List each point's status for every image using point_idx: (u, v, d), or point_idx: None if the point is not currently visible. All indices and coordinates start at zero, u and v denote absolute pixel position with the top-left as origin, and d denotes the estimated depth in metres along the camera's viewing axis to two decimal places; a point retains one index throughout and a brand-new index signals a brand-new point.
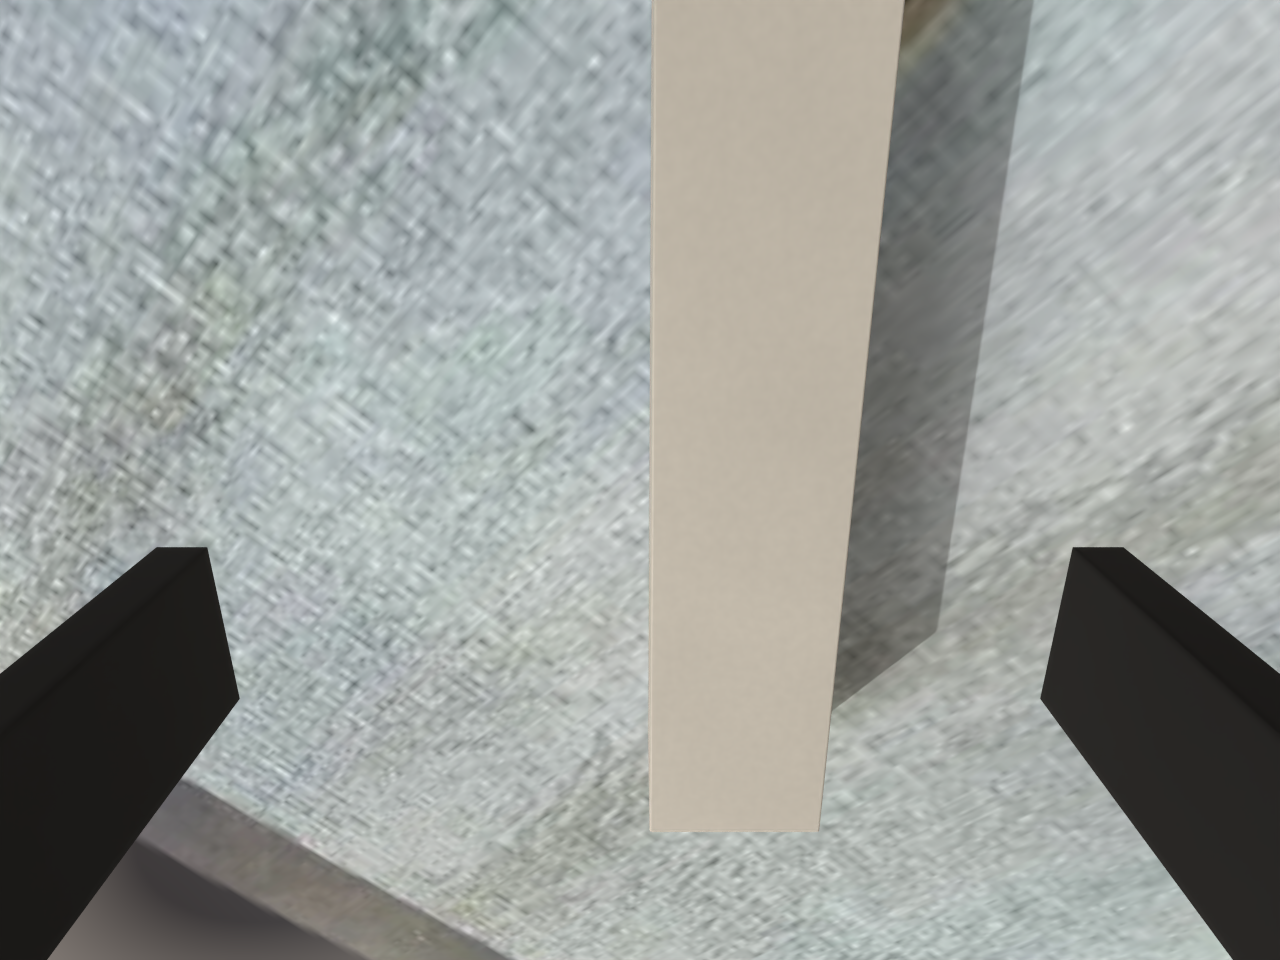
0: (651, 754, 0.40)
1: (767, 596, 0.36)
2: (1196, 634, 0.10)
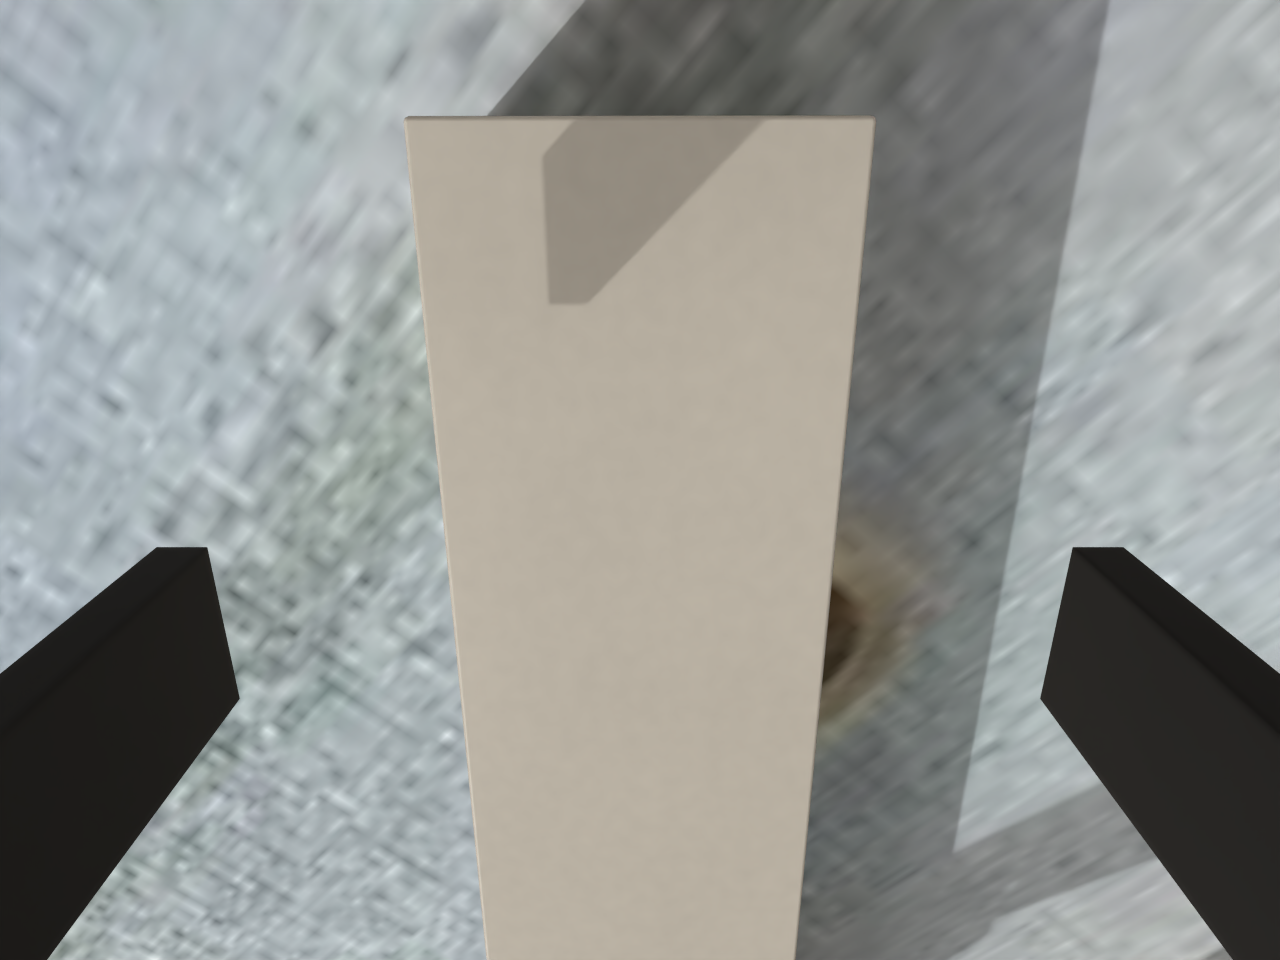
0: None
1: None
2: (1196, 634, 0.10)
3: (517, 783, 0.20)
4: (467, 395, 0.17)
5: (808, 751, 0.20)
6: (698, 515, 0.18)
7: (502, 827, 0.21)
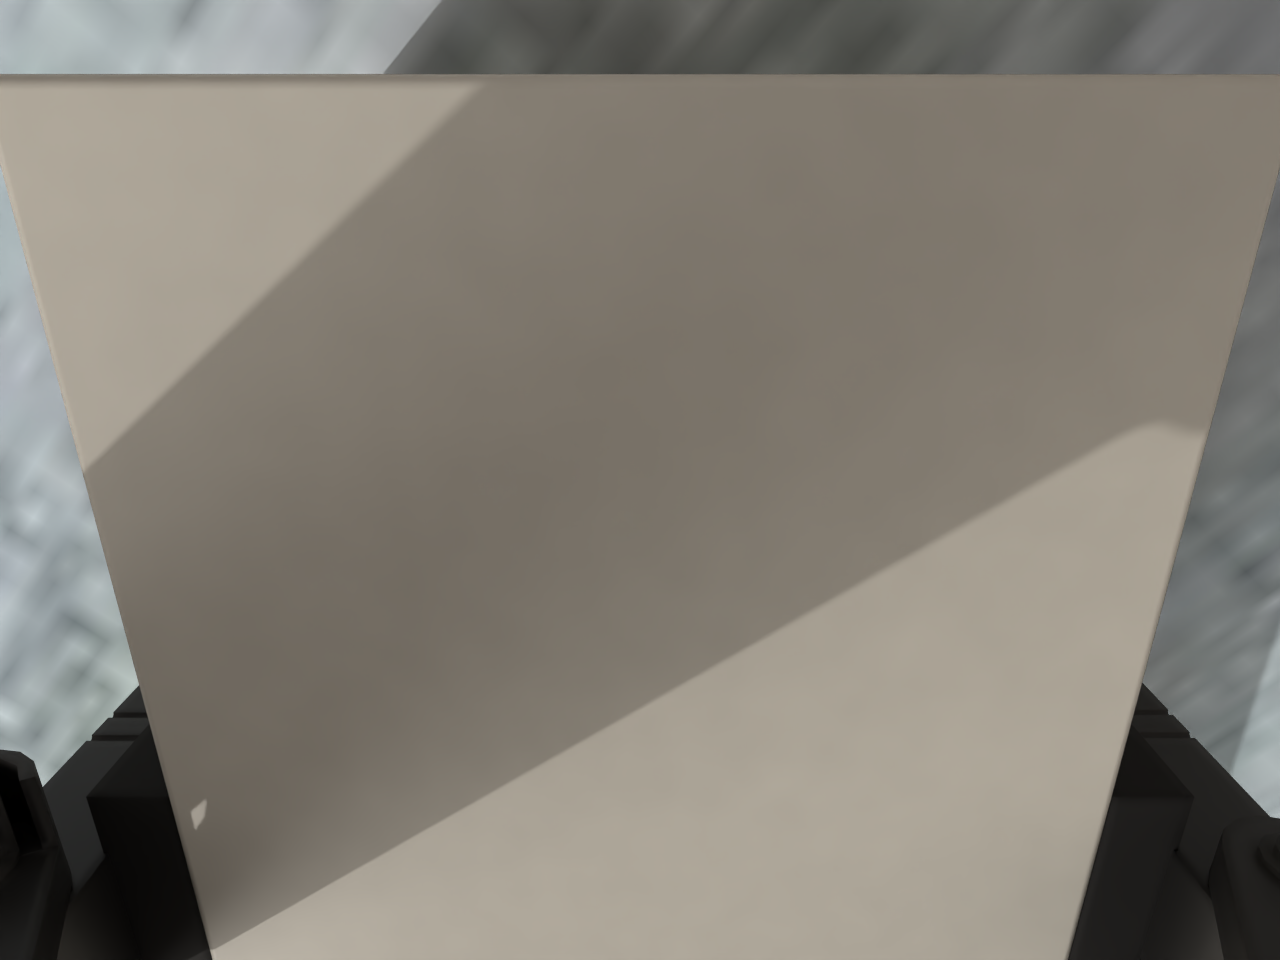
0: None
1: None
2: None
3: None
4: (235, 737, 0.07)
5: None
6: (766, 958, 0.08)
7: None
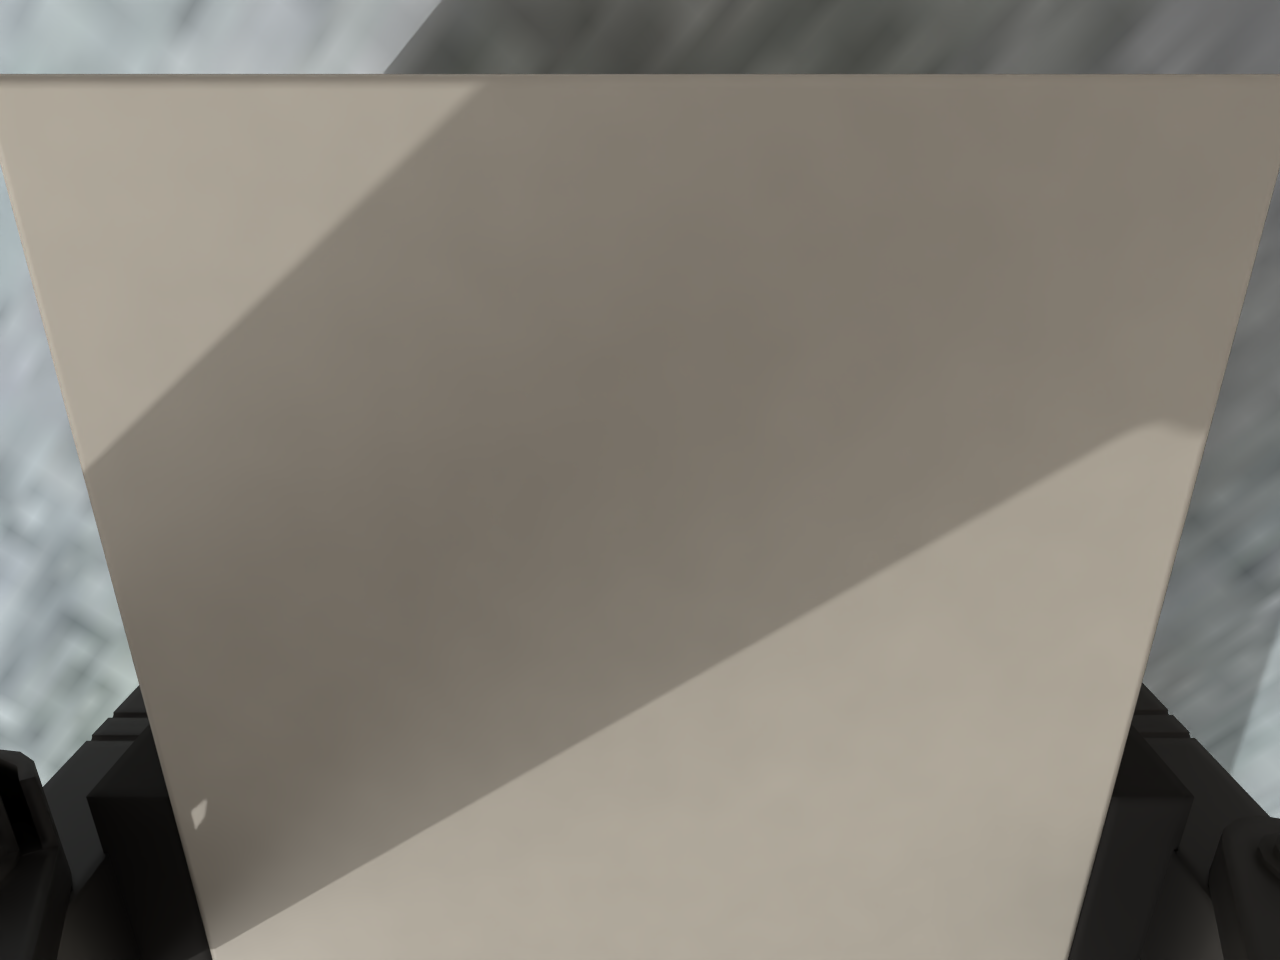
0: None
1: None
2: None
3: None
4: (236, 737, 0.07)
5: None
6: (765, 958, 0.08)
7: None
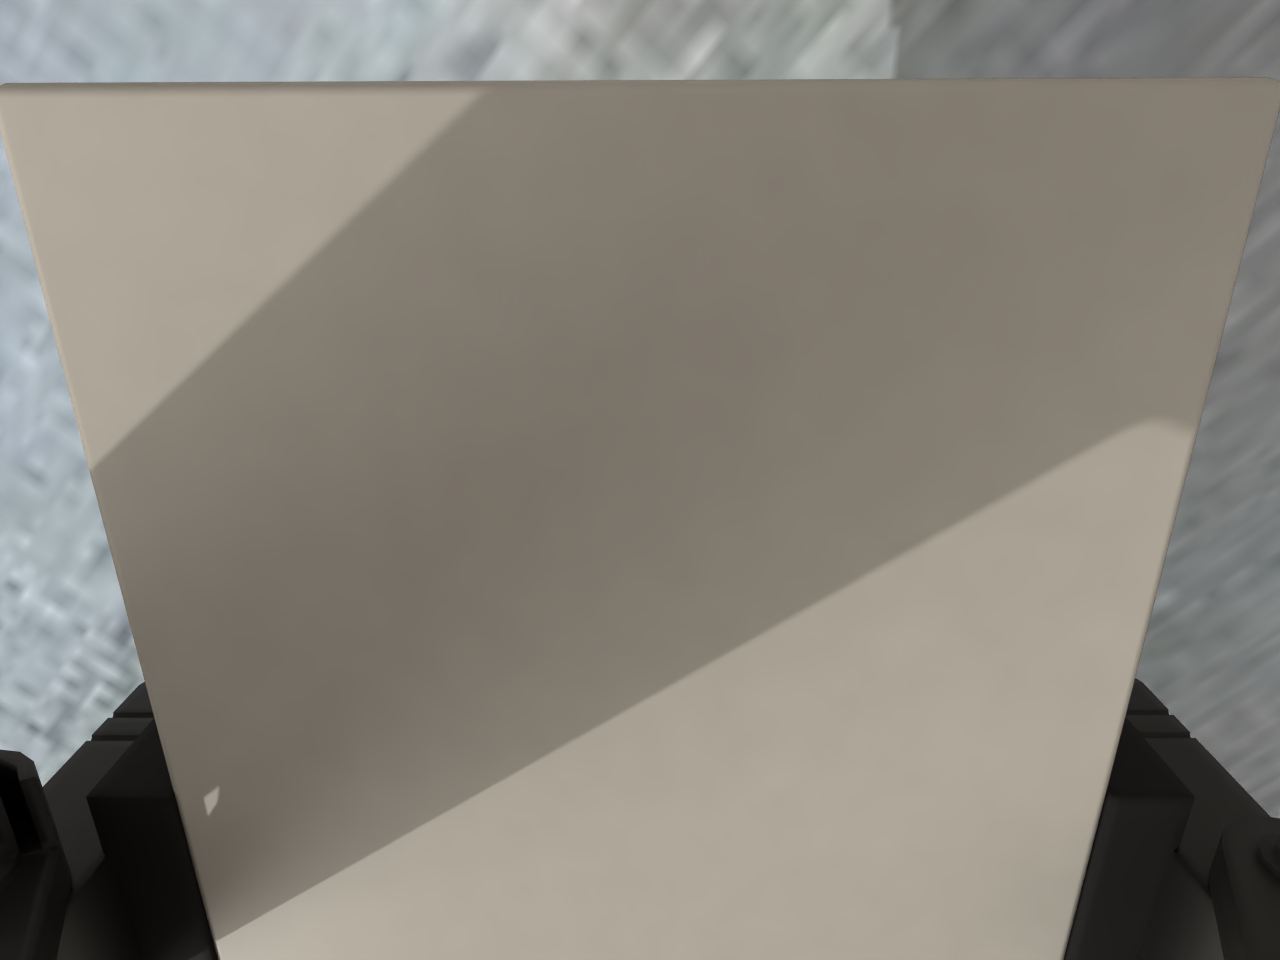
0: None
1: None
2: None
3: None
4: (240, 734, 0.07)
5: None
6: (765, 953, 0.08)
7: None
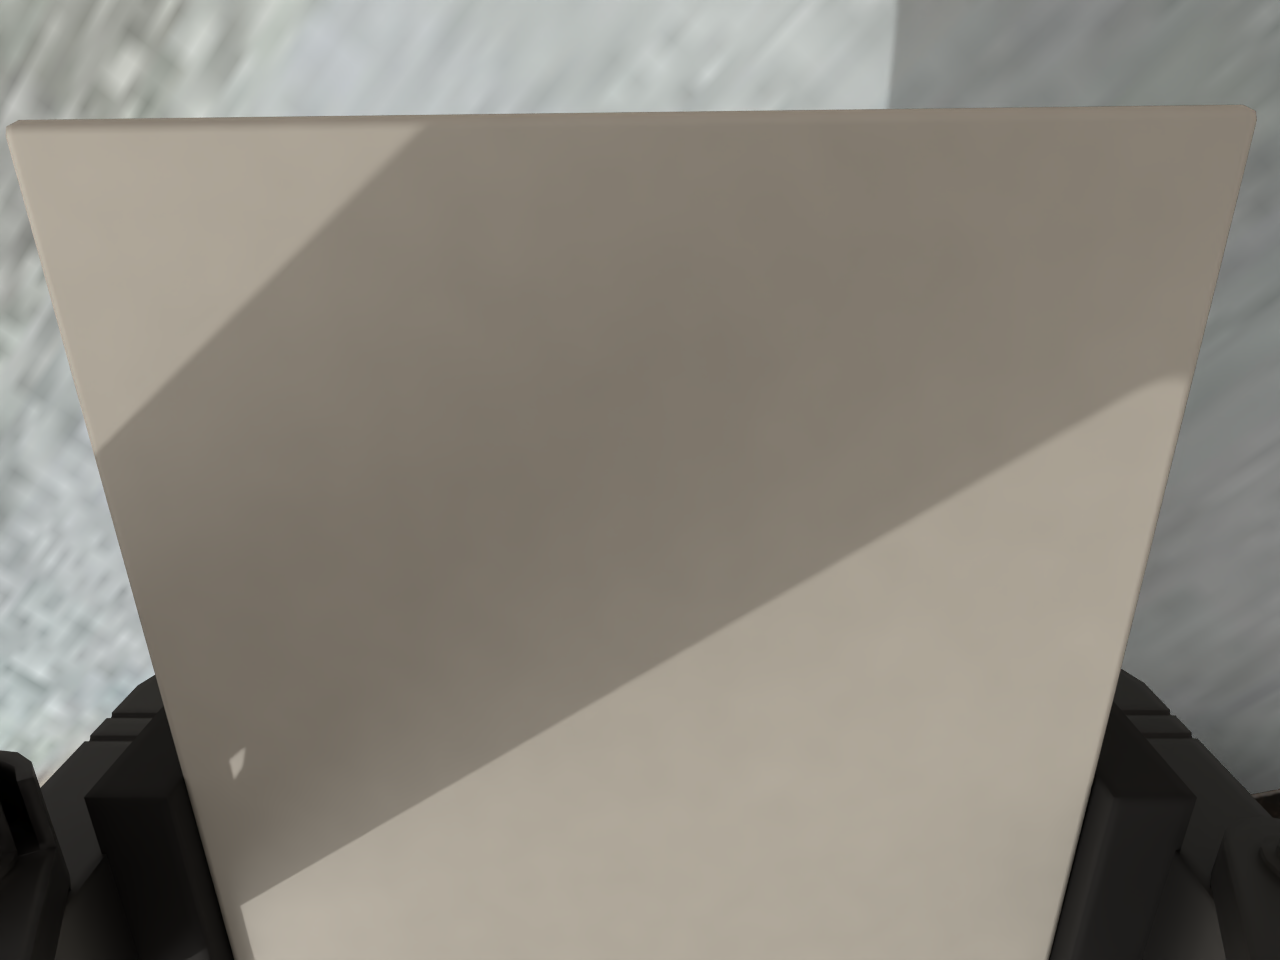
0: None
1: None
2: None
3: None
4: (251, 739, 0.07)
5: None
6: (761, 946, 0.08)
7: None
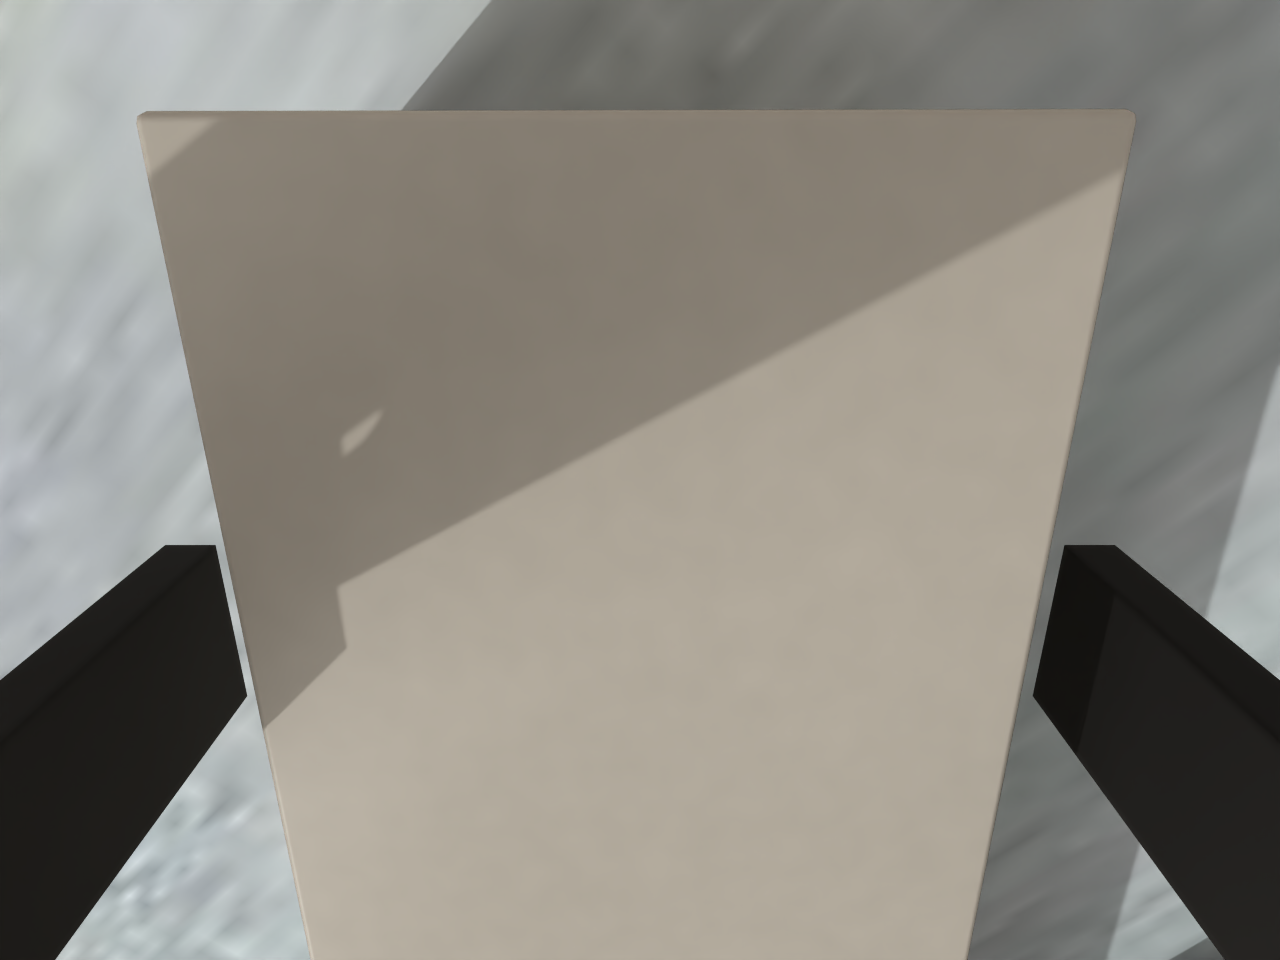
0: None
1: None
2: (1185, 630, 0.10)
3: None
4: (311, 639, 0.09)
5: None
6: (743, 831, 0.10)
7: None
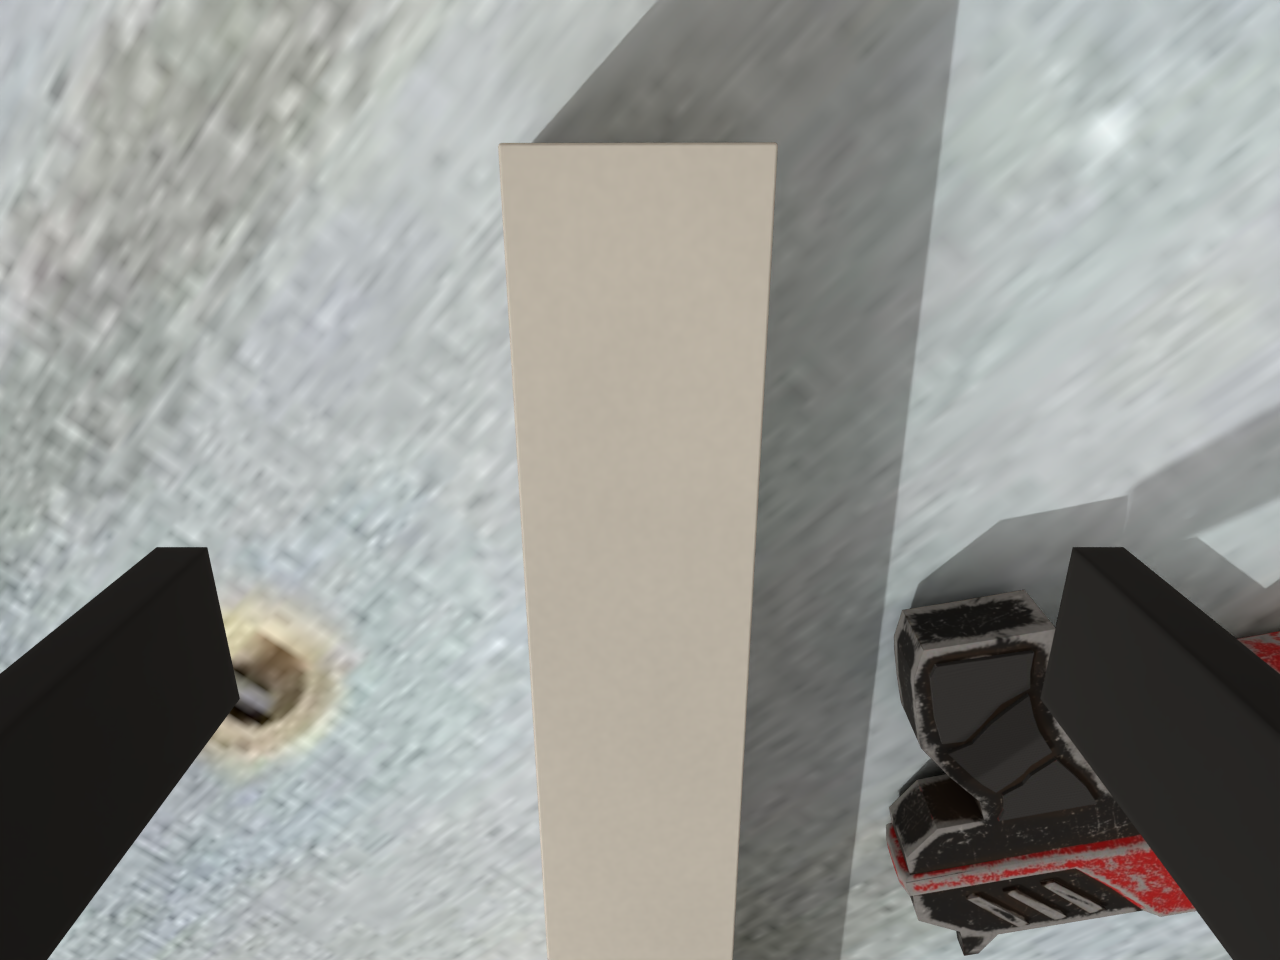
0: None
1: None
2: (1196, 634, 0.10)
3: (557, 581, 0.31)
4: (531, 314, 0.27)
5: (750, 558, 0.30)
6: (675, 392, 0.28)
7: (546, 615, 0.31)
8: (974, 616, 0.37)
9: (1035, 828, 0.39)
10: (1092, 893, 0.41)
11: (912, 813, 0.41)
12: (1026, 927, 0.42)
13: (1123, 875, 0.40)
